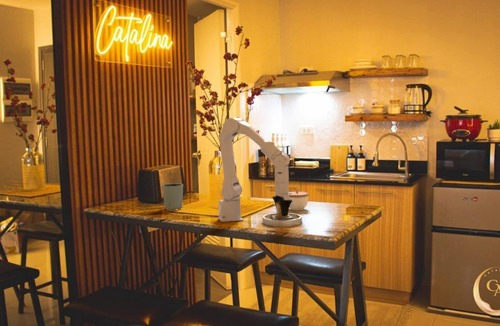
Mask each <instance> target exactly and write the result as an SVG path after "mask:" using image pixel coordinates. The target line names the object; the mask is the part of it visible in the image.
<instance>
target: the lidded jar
mask: <svg viewBox="0 0 500 326" xmlns="http://www.w3.org/2000/svg"><path fill="white" fill-rule="evenodd" d="M290 192H291V194H289V200H290V199H291V200H292V202H291V204H290V207H289V210H291V211H303V210H305V208H306V207H307V206H308V202H309V193H308V192H305V191H299V189H295V191H290Z"/></svg>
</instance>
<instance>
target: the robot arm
mask: <svg viewBox="0 0 500 326" xmlns="http://www.w3.org/2000/svg"><path fill="white" fill-rule="evenodd" d="M239 134H240V135H245V136H247V137H248V138H249V139H250V140H252V141H253V142H254V143H255V144H257V146H258V147H259V148H260V152H261V153H263V154H264V155H265V156H266V157H267V158H268V159H269V160H270V161H271V162H272V164H273V166H274V195H273V196H271V197H272V200H273V202H274V206H275V207H276V202H279V204H280V207H281V214H282V216H287V215H288V213H289V210H290V208H289V207H290V204H291V202H292V200H291V199H290V200H289V194H291V192H292V191H289V189H290V188H289V187H290V183H289V175H290V174H289V173H290V172H289V164H290V162H291V160H290V159H291V158H290V156H289V155H288V153H286V152H284V150H282V149H280V148H279V147H277V146H276V145H275V144H276V143H275V141H270V140H265V139H264V138H263V136H261V135H260V134H259V133H258V132H257V131H256V130H255V128H253V127H252V125H250V124H249V123H248V122H247V121H245V120H244V118H241V117H230V118H227V119H226V120H225V121H224V122H223V123H222V128H221V132H220V133H219V135H218V136H219V138H218V140H219V147H220V148H219V149H220V153H221V155H220V156H221V161H222V162H221V163H222V164H221V165H222V169H223V170H222V172H223V180H222V183H221V184H222V187H221V196H222V198H223V199H220V200H219V201H218V219H219V220H220V222H221V223H224V222H225V223H226V222H239V221H244V219H243V218H242V217H241V216H242V214H241V197H240V196H242V193H243V188H242V185H241V184H240V179H239V178H238V177H237V172H236V171H237V170H236V163H235V156H234V147H233V146H234V145H233V139H235V137H237V136H238V135H239Z"/></svg>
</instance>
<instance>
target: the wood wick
mask: <svg viewBox="0 0 500 326" xmlns="http://www.w3.org/2000/svg"><path fill="white" fill-rule="evenodd" d="M275 211H276V212H275V213H276V214H277V218H284V217H287V216H282V214H281V207H280V204H279V202H276V206H275Z"/></svg>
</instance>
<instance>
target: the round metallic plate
mask: <svg viewBox="0 0 500 326" xmlns="http://www.w3.org/2000/svg"><path fill="white" fill-rule="evenodd" d="M261 220H262V224H264V225H265V226H270V227H280V228H283V227H284V228H285V226H287V227H295V226H299V224H300V225H301V224H302V223H303V216H302V215H300V214H298V213H293V212H288V215H287V217H284V218H277V214H276V212H274V213H267V214H264V215H263V216H262V219H261Z"/></svg>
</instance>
